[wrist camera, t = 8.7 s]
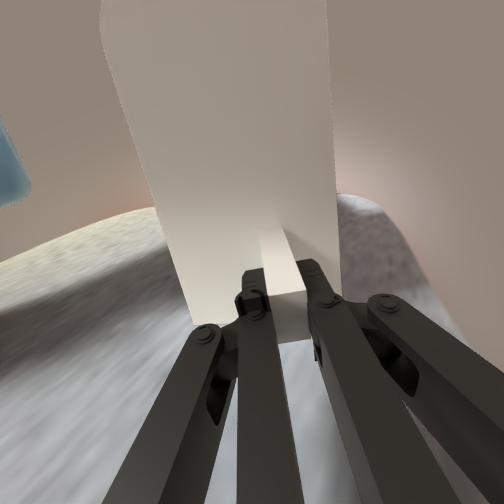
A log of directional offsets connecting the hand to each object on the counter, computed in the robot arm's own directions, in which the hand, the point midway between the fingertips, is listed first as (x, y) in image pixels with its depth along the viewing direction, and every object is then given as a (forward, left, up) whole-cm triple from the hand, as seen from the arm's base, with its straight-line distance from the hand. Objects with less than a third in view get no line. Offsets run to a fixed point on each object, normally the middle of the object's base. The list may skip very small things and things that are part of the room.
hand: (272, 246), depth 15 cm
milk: (-1, +6, -6) cm, 9 cm away
